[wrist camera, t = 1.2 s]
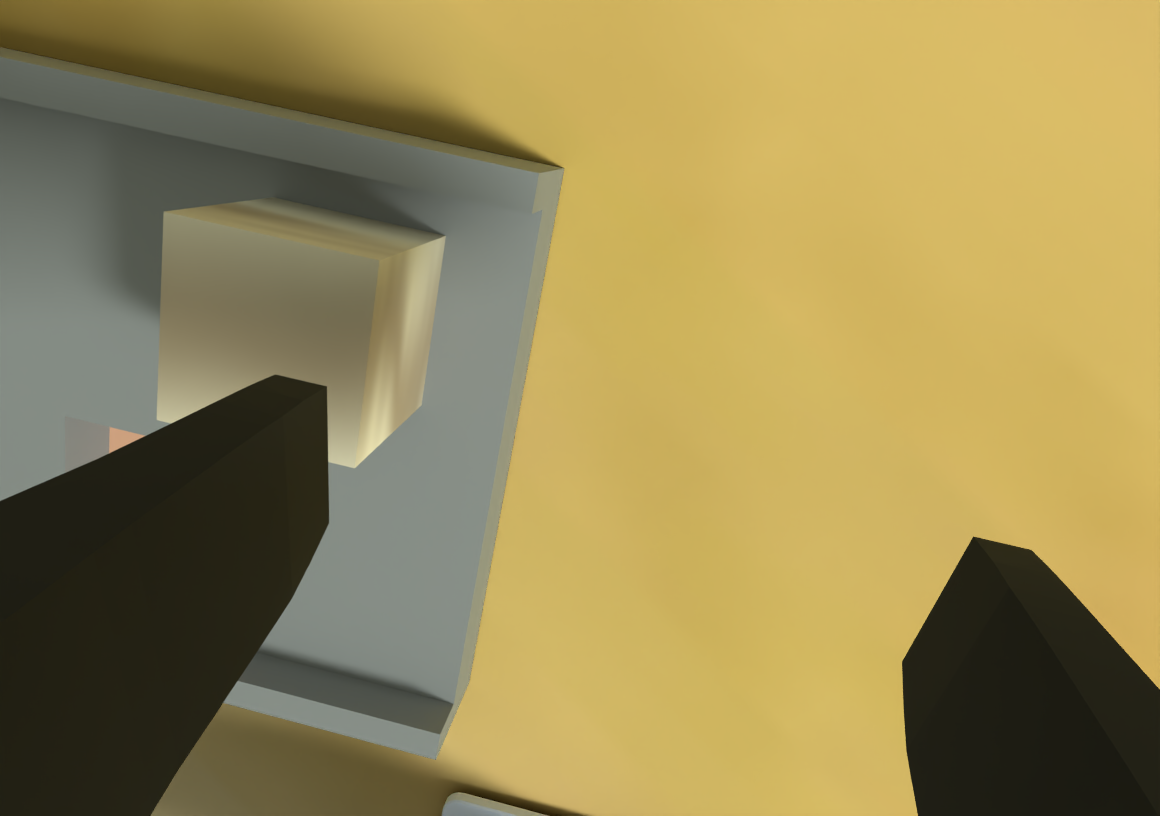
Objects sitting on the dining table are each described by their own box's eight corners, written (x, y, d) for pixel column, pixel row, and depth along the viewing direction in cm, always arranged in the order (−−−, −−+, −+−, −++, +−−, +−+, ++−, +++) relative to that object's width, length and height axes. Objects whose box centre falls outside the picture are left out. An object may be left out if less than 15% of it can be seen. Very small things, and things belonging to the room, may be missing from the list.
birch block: (421, 405, 20) (354, 468, 16) (260, 366, 20) (156, 419, 16) (446, 235, 18) (379, 260, 15) (272, 197, 19) (163, 211, 15)
